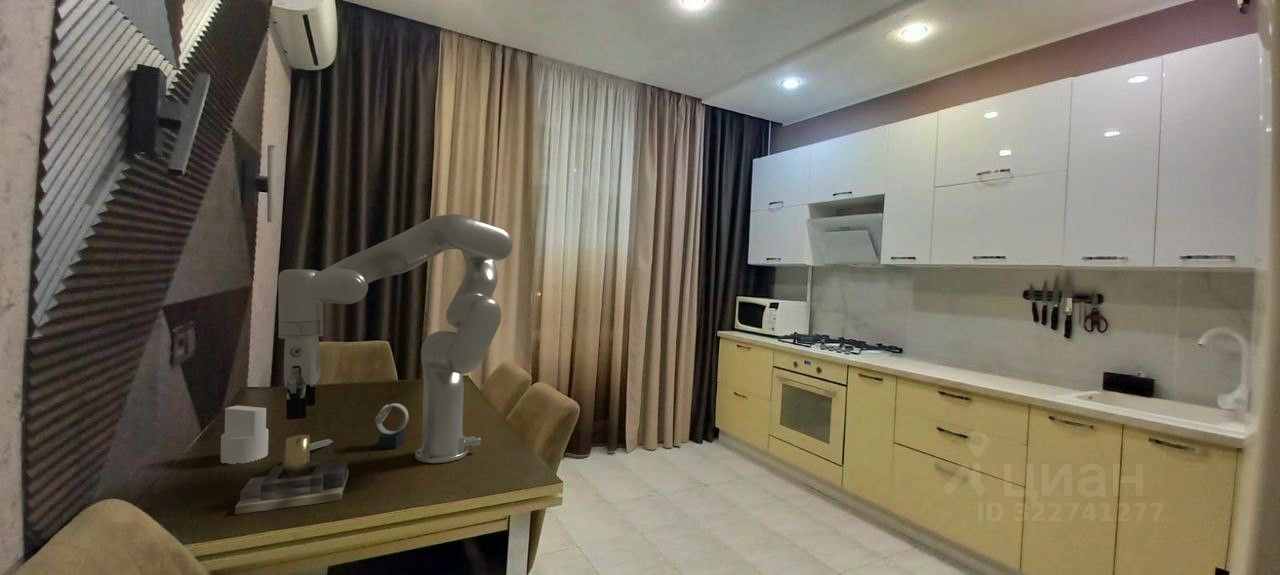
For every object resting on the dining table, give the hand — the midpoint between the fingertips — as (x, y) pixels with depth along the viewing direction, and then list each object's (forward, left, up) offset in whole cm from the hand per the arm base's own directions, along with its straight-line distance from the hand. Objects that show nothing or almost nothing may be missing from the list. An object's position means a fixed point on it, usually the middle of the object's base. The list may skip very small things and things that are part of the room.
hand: (301, 411), depth 101 cm
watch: (-16, -25, -17) cm, 34 cm away
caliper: (+2, -24, -17) cm, 29 cm away
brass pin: (0, 0, -15) cm, 15 cm away
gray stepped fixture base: (0, 0, -17) cm, 17 cm away
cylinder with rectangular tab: (+16, -27, -17) cm, 36 cm away
